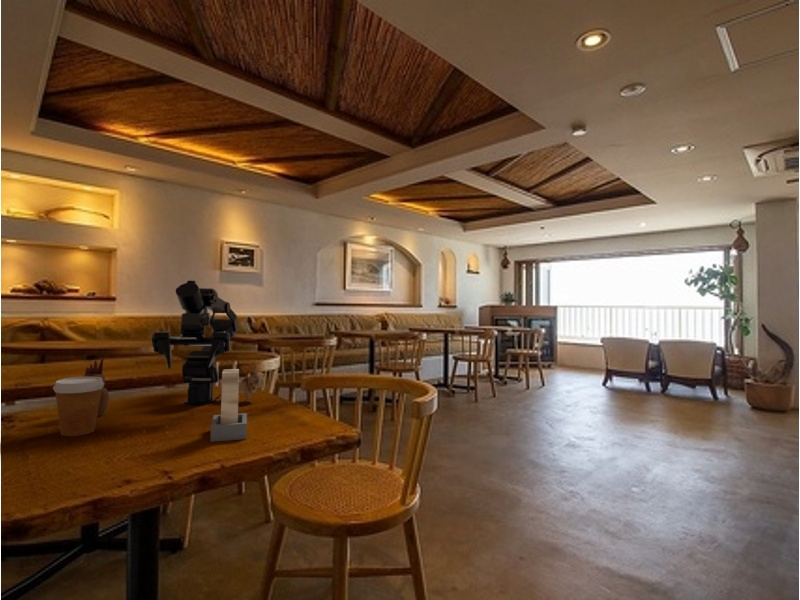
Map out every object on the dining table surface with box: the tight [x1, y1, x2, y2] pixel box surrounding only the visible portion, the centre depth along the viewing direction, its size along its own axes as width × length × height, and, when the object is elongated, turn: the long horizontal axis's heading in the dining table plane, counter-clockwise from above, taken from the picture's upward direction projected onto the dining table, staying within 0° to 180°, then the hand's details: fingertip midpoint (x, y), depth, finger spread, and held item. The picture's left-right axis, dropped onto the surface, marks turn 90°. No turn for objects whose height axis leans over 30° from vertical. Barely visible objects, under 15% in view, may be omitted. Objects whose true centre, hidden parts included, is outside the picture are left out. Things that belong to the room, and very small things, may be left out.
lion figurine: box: [214, 371, 266, 402], centre depth 132 cm, size 15×5×9 cm, turn 95°
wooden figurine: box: [82, 358, 110, 418], centre depth 111 cm, size 7×6×15 cm
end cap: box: [209, 412, 248, 442], centre depth 100 cm, size 9×8×4 cm
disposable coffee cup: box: [52, 376, 105, 437], centre depth 99 cm, size 10×10×12 cm
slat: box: [220, 368, 240, 424], centre depth 100 cm, size 5×4×14 cm
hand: (188, 367), depth 110 cm, fingers open, 9 cm apart
